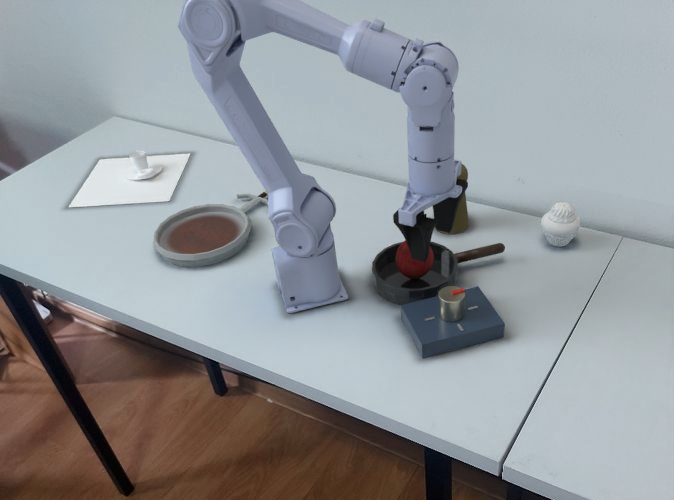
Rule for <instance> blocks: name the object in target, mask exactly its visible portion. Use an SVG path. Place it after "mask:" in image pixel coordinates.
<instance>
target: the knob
mask: <svg viewBox="0 0 674 500" xmlns="http://www.w3.org/2000/svg"><path fill="white" fill-rule="evenodd" d="M438 305H439V317H440V318H441V319H443V320H444V321H448V322H455V321H459V320H461V319H462V318H463V317H464V314H465V288H464V287H460V286H457V285H456V286H447V287H444V288H442V289H441V290H440V291H439V294H438Z"/></svg>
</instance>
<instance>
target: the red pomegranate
mask: <svg viewBox="0 0 674 500" xmlns="http://www.w3.org/2000/svg"><path fill="white" fill-rule="evenodd" d="M402 242H403V243H402V244H401V245H400V246H399V247H398V249H397V253H396V257H395V261H396V265H397V268H398V270H399V271H400V272H401V273H402V274H403V275H404V276H405V277H408V278H410V279H418V278H421V277H423V276H424V275H426V274H427V273H428V272H429V271H430V269H431V268H432V265H433V261H434V255H433V251H432V249H431V247H430V251H429V256H428V259H427V261H426V262H422V261H418V260H414V259H412V257H411V254H410V251H409V248H408V245H407V243H406V240H405V239H404V241H402Z"/></svg>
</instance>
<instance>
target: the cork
mask: <svg viewBox="0 0 674 500" xmlns="http://www.w3.org/2000/svg"><path fill="white" fill-rule="evenodd" d="M457 179H462V180H465V181H467V182H468V179H469V172H468V168H467V167H466V166H465V164H463V162H461V174H460V175H459V176H458V177H457ZM466 195H467V194H466V191H465V192H464V194H463V196H462V198H461V201H460V203H459V206H458V209H457V212H456V216H455V220H454V224H453V227H452V230H451V232H450V233H447V232H443V231H439V230H436V227H435V228H434V230H436V231H437V232H439V233H442V234H445V235H457V234H461V233H463V232H465V231H466V230H468V229H469V226H470V220H469V213H468V203H467V196H466Z"/></svg>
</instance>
